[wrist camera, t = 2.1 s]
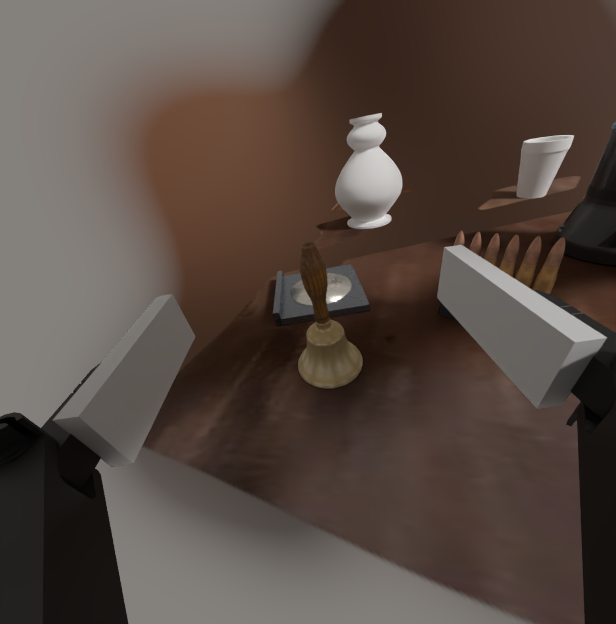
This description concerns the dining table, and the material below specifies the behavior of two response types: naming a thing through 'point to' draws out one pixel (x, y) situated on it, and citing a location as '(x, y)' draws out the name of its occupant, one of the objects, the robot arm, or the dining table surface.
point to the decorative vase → (368, 176)
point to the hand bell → (324, 332)
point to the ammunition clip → (528, 265)
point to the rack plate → (339, 297)
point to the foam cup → (541, 164)
